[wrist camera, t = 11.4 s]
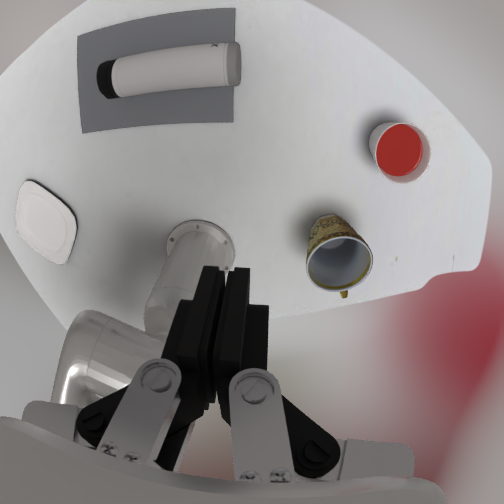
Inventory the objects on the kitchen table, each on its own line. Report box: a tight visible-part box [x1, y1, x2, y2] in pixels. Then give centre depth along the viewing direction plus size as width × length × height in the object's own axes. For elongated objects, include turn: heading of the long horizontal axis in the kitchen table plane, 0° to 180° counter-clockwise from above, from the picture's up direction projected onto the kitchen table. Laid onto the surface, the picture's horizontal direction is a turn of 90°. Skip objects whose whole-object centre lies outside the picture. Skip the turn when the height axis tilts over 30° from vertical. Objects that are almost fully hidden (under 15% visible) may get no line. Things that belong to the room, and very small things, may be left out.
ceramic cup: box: [306, 214, 373, 298], centre depth 45 cm, size 13×10×10 cm
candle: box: [369, 122, 431, 184], centre depth 37 cm, size 9×9×6 cm
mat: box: [77, 8, 236, 134], centre depth 35 cm, size 18×26×1 cm
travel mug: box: [96, 42, 241, 99], centre depth 32 cm, size 6×7×20 cm
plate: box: [15, 181, 77, 265], centre depth 51 cm, size 18×18×2 cm
